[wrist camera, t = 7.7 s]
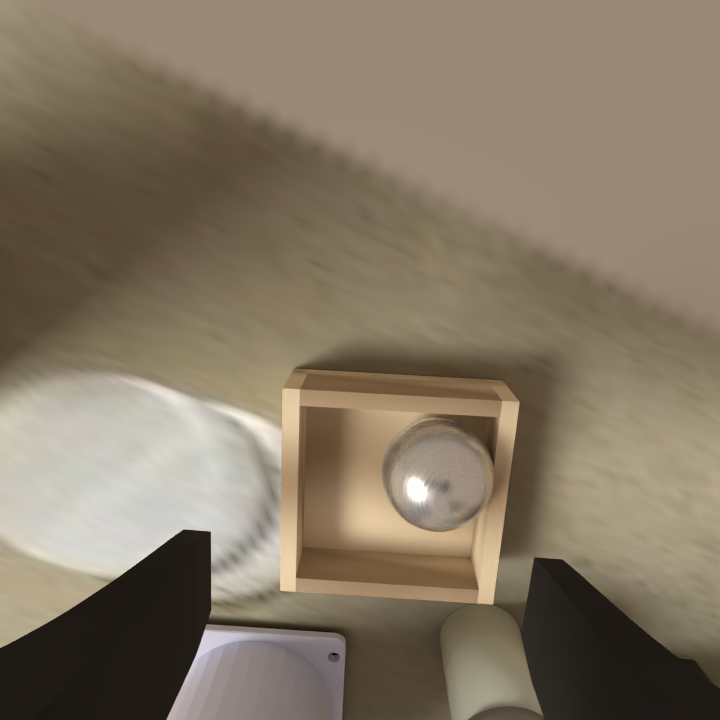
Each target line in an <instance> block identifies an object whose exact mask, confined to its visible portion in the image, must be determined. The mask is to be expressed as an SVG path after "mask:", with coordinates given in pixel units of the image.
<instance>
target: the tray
mask: <svg viewBox="0 0 720 720" xmlns="http://www.w3.org/2000/svg"><path fill="white" fill-rule="evenodd" d="M519 403H520V402H519V400H518V399H517V398H516V397H515V395H514V394H513V393H512V392H511V390H510V389H509V388H508V387H507V385H506V384H505V383H504V382H503V380H488V379H471V378H453V377H435V376H417V375H400V374H382V373H364V372H347V371H329V370H311V369H294V370H293V372H292V373H291V375H290V377H289V378H288V380H287V382H286V383H285V385H284V387H283V397H282V477H281V557H280V591H294V592H310V593H325V594H340V595H355V596H371V597H386V598H401V599H417V600H432V601H447V602H462V603H478V604H493V600H494V593H495V585H496V578H497V570H498V562H499V555H500V547H501V540H502V532H503V525H504V517H505V509H506V502H507V494H508V487H509V479H510V472H511V464H512V456H513V449H514V441H515V434H516V426H517V419H518V411H519ZM426 418H447V419H451V420H454V421H457V422H459V423H461V424H463V425H465V426H467V427H468V428H470V429H471V430H472V431H473V432H475V433H476V434H477V435H478V436H479V438H480V439H481V440H482V441H483V443H484V444H485V446H486V447H487V449H488V451H489V453H490V456H491V459H492V462H493V467H494V486H493V491H492V494H491V497H490V500H489V502H488V504H487V505H486V507H485V508H484V510H483V511H482V512H481V513H480V515H479V516H478V517H477V518H476V519H474V520H473V521H472V522H470V523H469V524H467V525H465V526H463V527H461V528H459V529H456V530H452V531H446V532H432V531H427V530H423V529H420V528H418V527H415V526H413V525H411V524H410V523H408V522H407V521H405V520H404V519H403V518H401V517H400V516H399V515H398V514H397V513H396V511H395V510H394V509H393V508H392V506H391V505H390V503H389V501H388V499H387V497H386V495H385V492H384V489H383V485H382V479H381V468H382V461H383V457H384V454H385V451H386V449H387V447H388V445H389V443H390V442H391V440H392V439H393V438H394V437H395V435H396V434H397V433H398V432H399V431H400V430H402V429H403V428H404V427H406V426H407V425H409V424H411V423H413V422H415V421H418V420H422V419H426Z"/></svg>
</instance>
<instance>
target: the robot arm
mask: <svg viewBox="0 0 720 720" xmlns="http://www.w3.org/2000/svg"><path fill="white" fill-rule="evenodd" d="M210 612H211V532H208V531H195V530H182V531H181V532H180V533H178V534H177V535H175V536H174V537H173V538H171V539H170V540H168V541H167V542H166V543H164V544H163V545H162V546H160V547H159V548H158V549H156V550H155V551H154V552H152V553H151V554H150V555H148V556H147V557H146V558H144V559H143V560H142V561H140V562H139V563H138V564H136V565H135V566H133V567H132V568H131V569H129V570H128V571H127V572H125V573H124V574H122V575H121V576H120V577H118V578H117V579H115V580H114V581H113V582H111V583H110V584H108V585H106V586H105V587H103V588H102V589H100V590H99V591H97V592H96V593H94V594H93V595H91V596H90V597H88V598H87V599H85V600H84V601H82V602H81V603H79V604H78V605H76V606H75V607H73V608H72V609H70V610H68V611H67V612H65V613H63V614H62V615H60V616H58V617H57V618H55V619H53V620H52V621H50V622H48V623H47V624H45V625H43V626H41V627H39V628H37V629H36V630H34V631H32V632H30V633H28V634H27V635H25V636H23V637H21V638H19V639H17V640H16V641H14V642H12V643H10V644H8V645H6V646H4V647H2V648H0V720H342V713H343V693H344V673H345V653H346V640H345V638H344V637H343V636H342V635H341V634H338V633H330V632H315V631H300V630H285V629H270V628H255V627H240V626H225V625H210V624H207V621H208V618H209V615H210ZM521 637H522V642H523V646H524V651H525V656H526V660H527V665H528V669H529V673H530V677H531V681H532V685H533V688H534V690H535V693H536V696H537V699H538V702H539V705H540V708H541V711H542V713H543V716H544V719H545V720H720V688H718V687H717V686H715V685H714V684H712V683H711V682H710V681H708V680H707V679H705V678H704V677H702V676H701V675H700V674H698V673H697V672H696V671H694V670H693V669H692V668H690V667H689V666H688V665H686V664H685V663H684V662H682V661H681V660H680V659H679V658H677V657H676V656H675V655H674V654H672V653H671V652H670V651H668V650H667V649H666V648H665V647H663V646H662V645H661V644H660V643H658V642H657V641H656V640H655V639H653V638H652V637H651V636H650V635H649V634H647V633H646V632H645V631H644V630H643V629H641V628H640V627H639V626H638V625H637V624H635V623H634V622H633V621H632V620H631V619H630V618H628V617H627V616H626V615H625V614H624V613H623V612H622V611H620V610H619V609H618V608H617V607H616V606H615V605H614V604H612V603H611V602H610V601H609V600H608V599H607V598H606V597H605V596H603V595H602V594H601V593H600V592H599V591H598V590H597V589H596V588H595V587H593V586H592V585H591V584H590V583H589V582H588V581H587V580H586V579H585V578H583V577H582V576H581V575H580V574H579V573H578V572H577V571H575V570H574V569H573V568H572V567H571V566H570V565H568V564H567V563H566V562H565V561H563V560H560V559H548V558H535V557H534V563H533V569H532V575H531V581H530V586H529V592H528V598H527V604H526V609H525V615H524V621H523V627H522V633H521ZM330 653H337V654H338V655H331V654H330Z"/></svg>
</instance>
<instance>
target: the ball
mask: <svg viewBox="0 0 720 720" xmlns="http://www.w3.org/2000/svg"><path fill="white" fill-rule="evenodd" d="M381 479H382V485H383V489H384V492H385V495H386V497H387V499H388V501H389V503H390V505H391V506H392V508H393V509H394V510H395V511H396V513H397V514H398V515H399V516H400V517H401V518H403V519H404V520H405V521H407V522H408V523H410V524H411V525H413V526H415V527H418V528H420V529H423V530H427V531H432V532H446V531H452V530H456V529H459V528H461V527H463V526H465V525H467V524H469V523H470V522H472V521H473V520H474V519H476V518H477V517H478V516H479V515H480V513H481V512H482V511H483V510H484V508H485V507H486V505H487V504H488V502H489V500H490V497H491V494H492V491H493V486H494V467H493V462H492V459H491V456H490V453H489V451H488V449H487V447H486V446H485V444H484V443H483V441H482V440H481V439H480V438H479V436H478V435H477V434H476V433H475V432H473V431H472V430H471V429H470V428H468V427H467V426H465V425H463V424H461V423H459V422H457V421H454V420H451V419H447V418H426V419H422V420H418V421H415V422H413V423H411V424H409V425H407V426H406V427H404V428H403V429H402V430H400V431H399V432H398V433H397V434H396V435H395V437H394V438H393V439H392V440H391V442H390V443H389V445H388V447H387V449H386V451H385V454H384V457H383V461H382V468H381Z"/></svg>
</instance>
